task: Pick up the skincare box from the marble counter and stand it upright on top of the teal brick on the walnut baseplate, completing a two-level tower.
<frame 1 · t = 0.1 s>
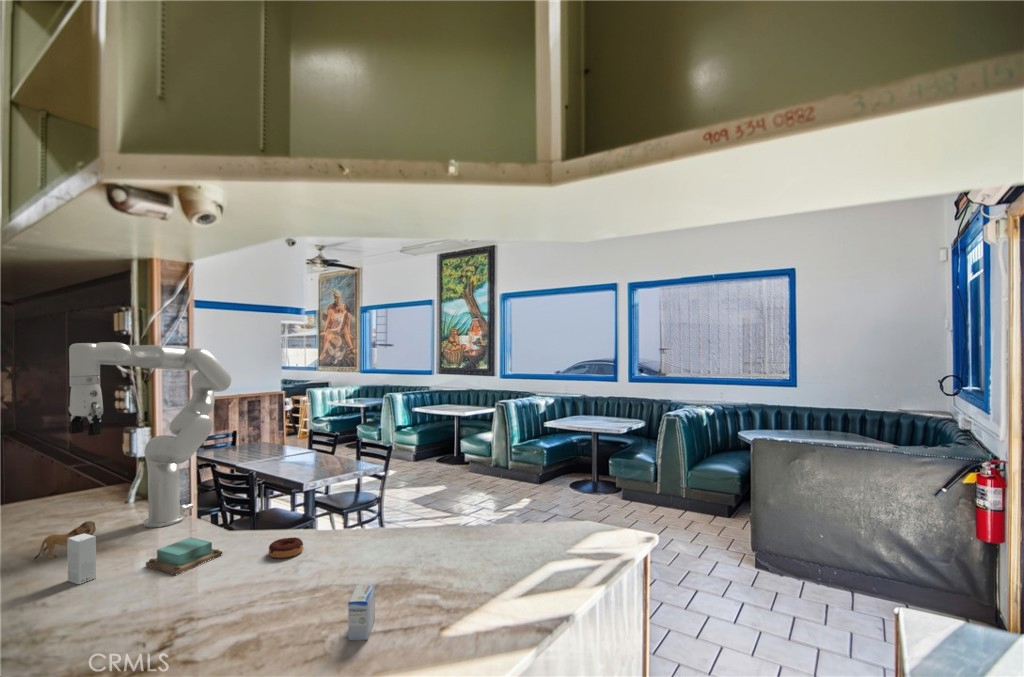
hand: (85, 433, 161), 37 cm above the counter, tool pointing down, fingers open, 9 cm apart
tower base: (185, 560, 150), on the counter
skincare box: (82, 580, 139), on the counter
donut: (286, 554, 155), on the counter
medicine box: (362, 631, 114), on the counter
lion figurine: (67, 554, 156), on the counter
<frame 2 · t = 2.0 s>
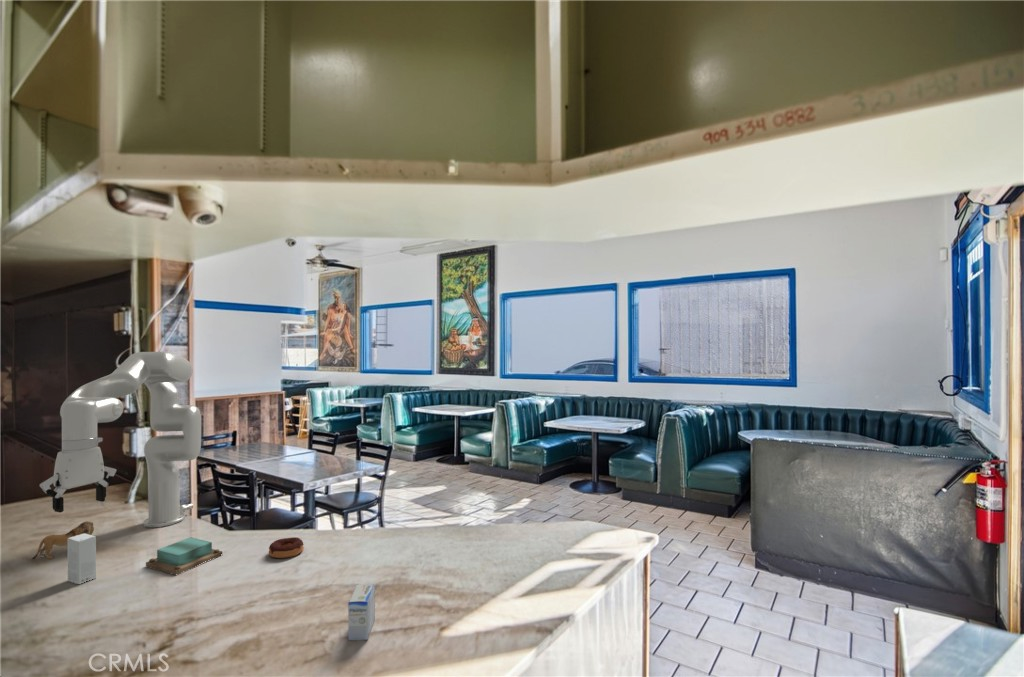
hand: (80, 506, 138), 21 cm above the counter, tool pointing down, fingers open, 9 cm apart
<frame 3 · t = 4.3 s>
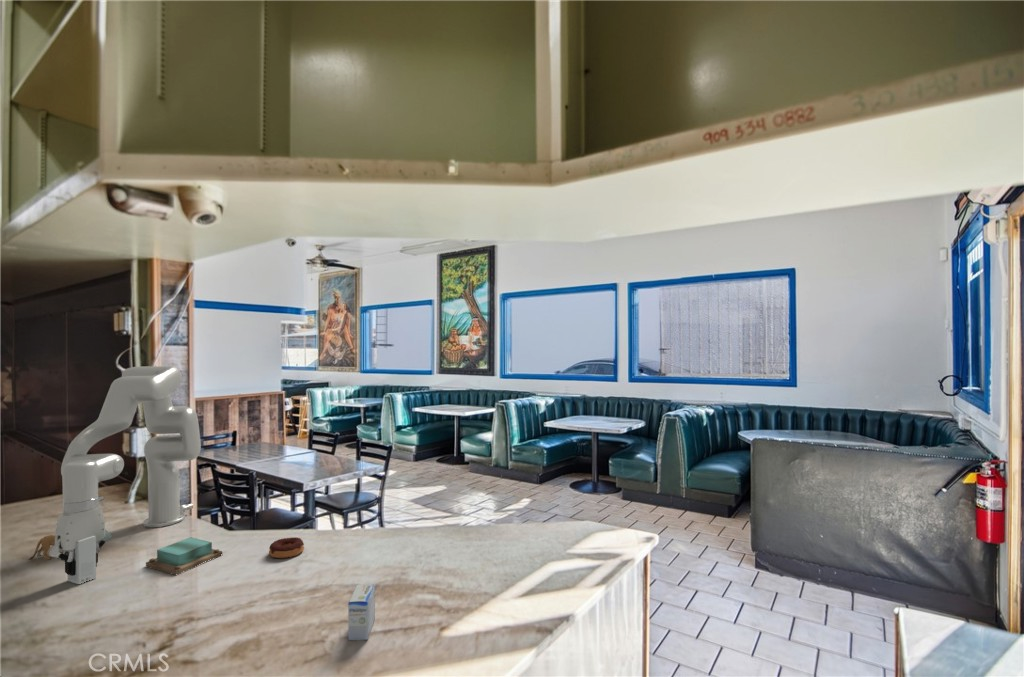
hand: (81, 569, 139), 3 cm above the counter, tool pointing down, fingers closed on skincare box, 4 cm apart
skincare box: (82, 580, 139), on the counter, touching gripper
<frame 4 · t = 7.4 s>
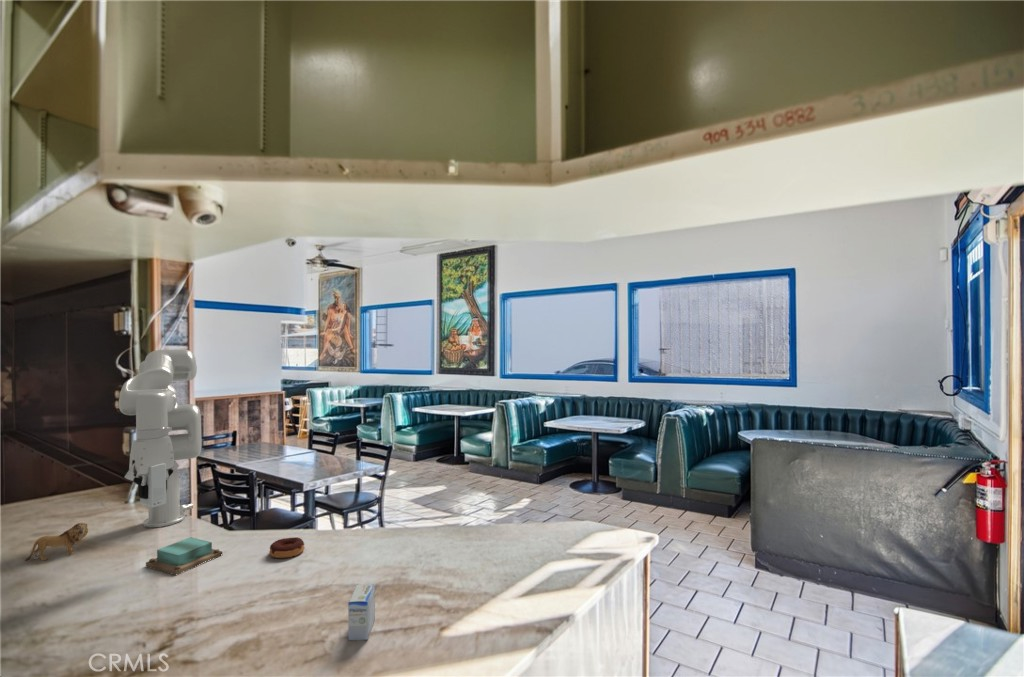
hand: (153, 495, 146), 21 cm above the counter, tool pointing down, fingers closed on skincare box, 4 cm apart
skincare box: (153, 505, 146), point 18 cm above the counter, touching gripper
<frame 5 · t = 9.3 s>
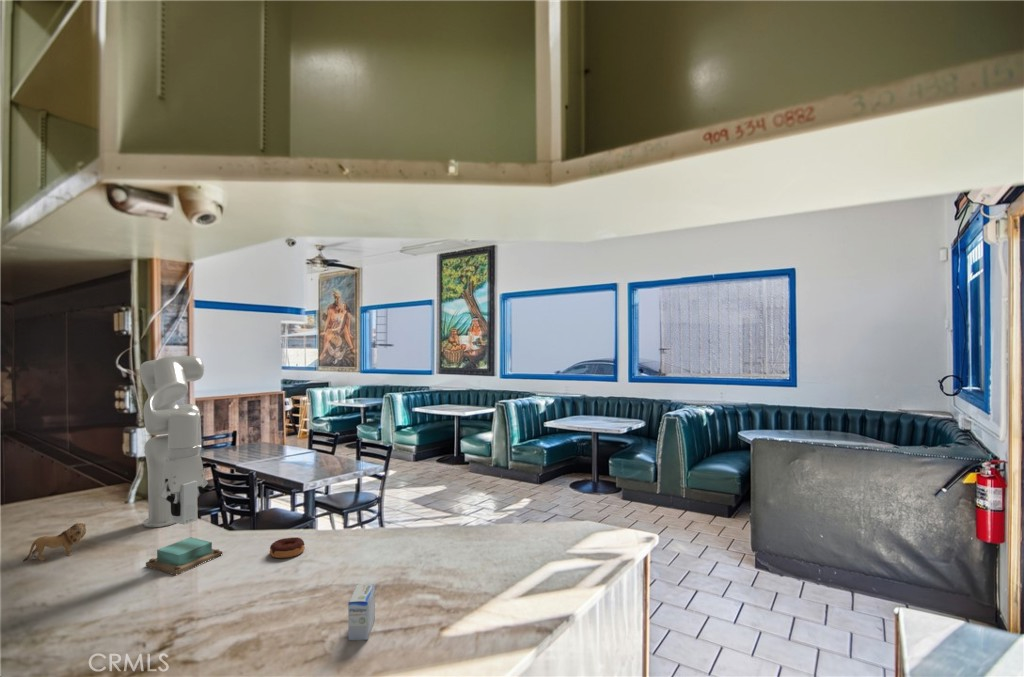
hand: (184, 512, 150), 15 cm above the counter, tool pointing down, fingers closed on skincare box, 4 cm apart
skincare box: (184, 522, 150), point 12 cm above the counter, touching gripper
when the fingers open (8 cm above the counter, at t = 10.8 s): skincare box stays where it is, resting on tower base.
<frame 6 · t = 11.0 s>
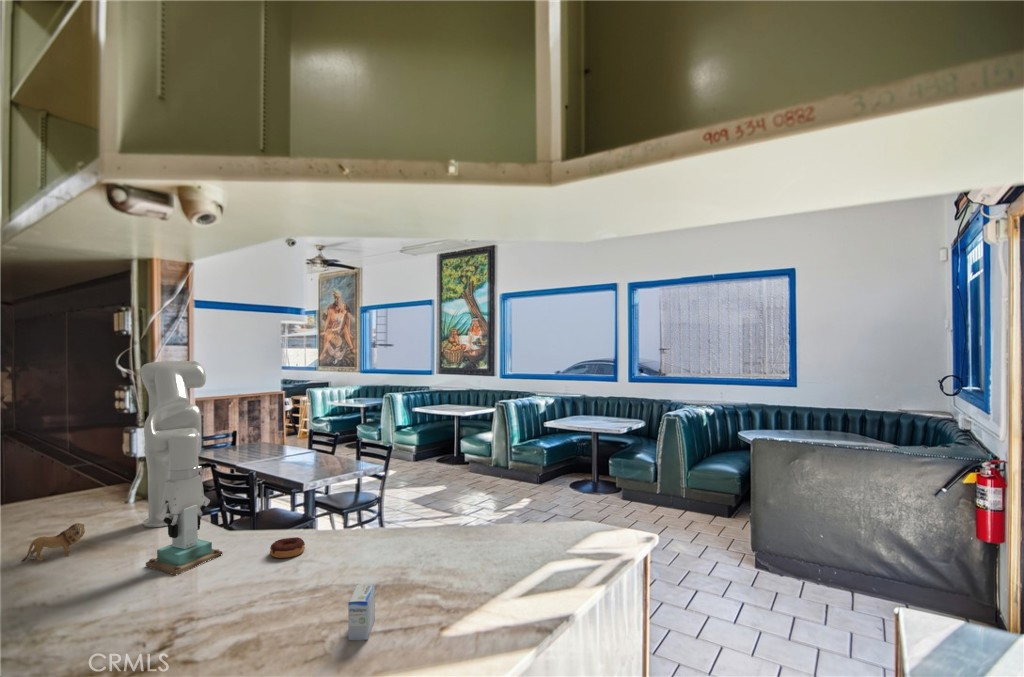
hand: (184, 532, 150), 9 cm above the counter, tool pointing down, fingers open, 6 cm apart
skincare box: (185, 546, 150), point 4 cm above the counter, touching tower base
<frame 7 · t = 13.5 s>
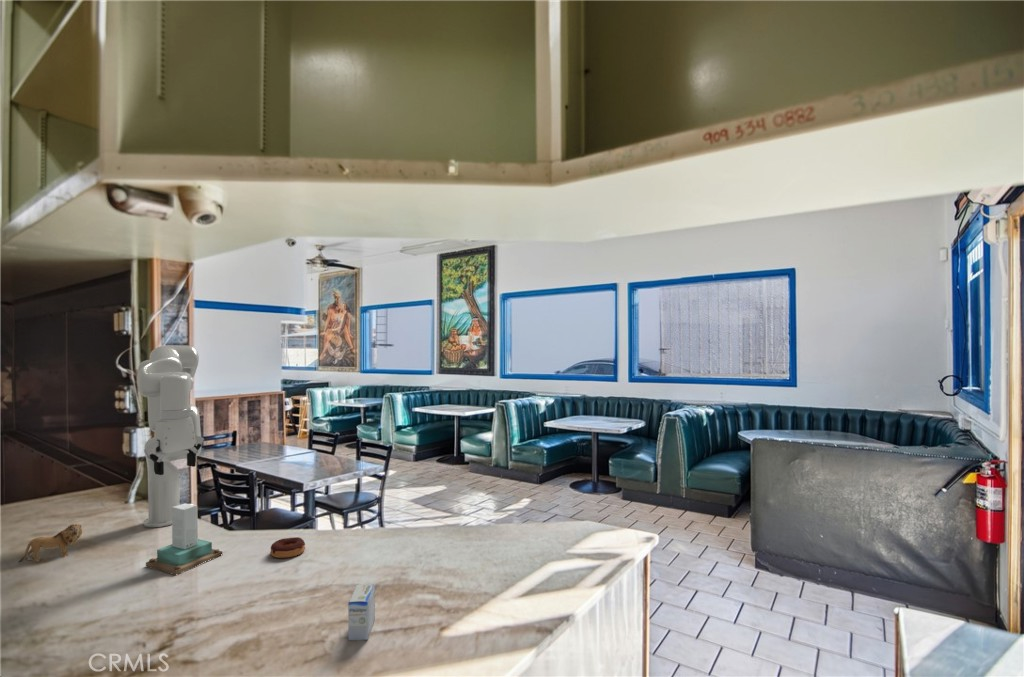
hand: (175, 470, 153), 27 cm above the counter, tool pointing down, fingers open, 9 cm apart
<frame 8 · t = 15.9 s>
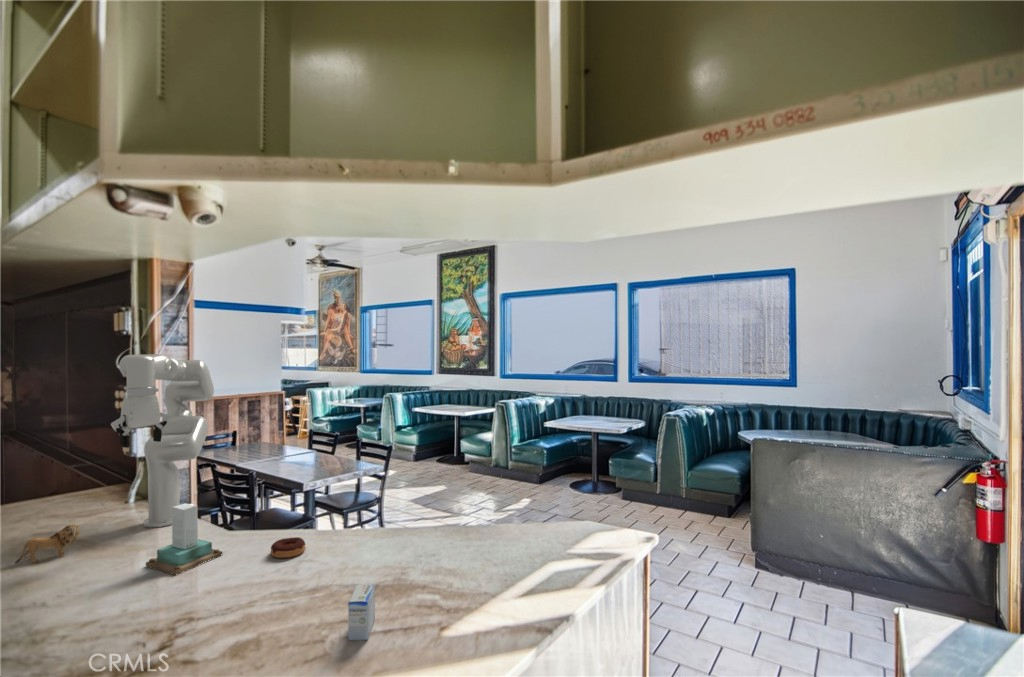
hand: (141, 444, 165), 32 cm above the counter, tool pointing down, fingers open, 9 cm apart
at the end: skincare box inside the target area on the tower base (0.2 cm from its centre), point 4.3 cm above the tower base's base; skincare box tilted 0°; the gripper is holding nothing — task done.
